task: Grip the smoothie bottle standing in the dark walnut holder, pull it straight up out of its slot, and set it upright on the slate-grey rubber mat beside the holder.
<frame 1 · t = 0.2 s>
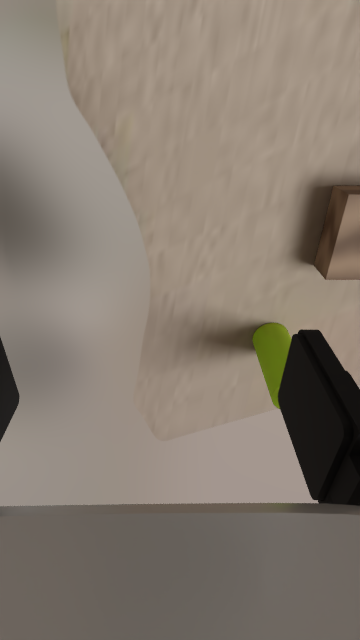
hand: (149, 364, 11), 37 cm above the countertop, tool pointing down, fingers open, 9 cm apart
soap dispenser: (272, 334, 57), on the countertop
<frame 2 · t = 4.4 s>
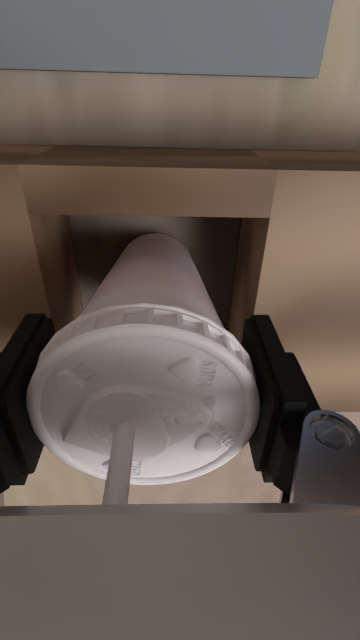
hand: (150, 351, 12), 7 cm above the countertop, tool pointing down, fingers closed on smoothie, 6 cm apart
smoothie: (156, 266, 18), resting in holder, touching gripper
holder: (156, 268, 17), on the countertop
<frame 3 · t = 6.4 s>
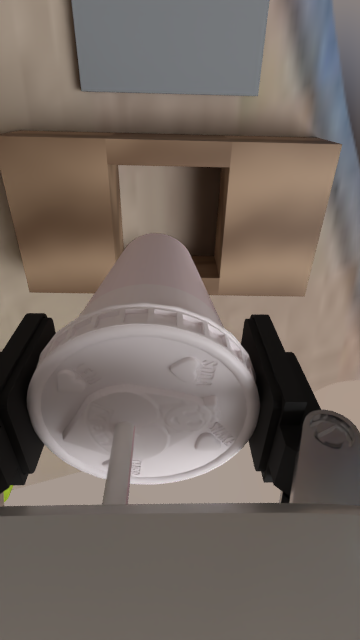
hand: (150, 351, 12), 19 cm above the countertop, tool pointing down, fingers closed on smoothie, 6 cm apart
smoothie: (156, 266, 18), point 13 cm above the countertop, touching gripper
holder: (169, 209, 28), on the countertop
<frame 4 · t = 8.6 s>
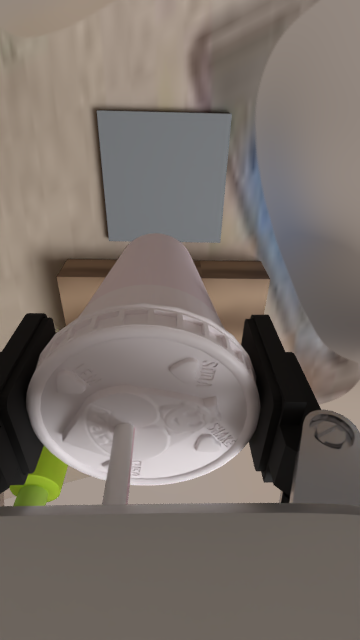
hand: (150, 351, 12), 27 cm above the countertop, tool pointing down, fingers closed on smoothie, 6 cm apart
mat: (164, 181, 35), on the countertop
smoothie: (156, 267, 18), point 20 cm above the countertop, touching gripper
holder: (165, 301, 42), on the countertop
soap dispenser: (65, 403, 52), on the countertop
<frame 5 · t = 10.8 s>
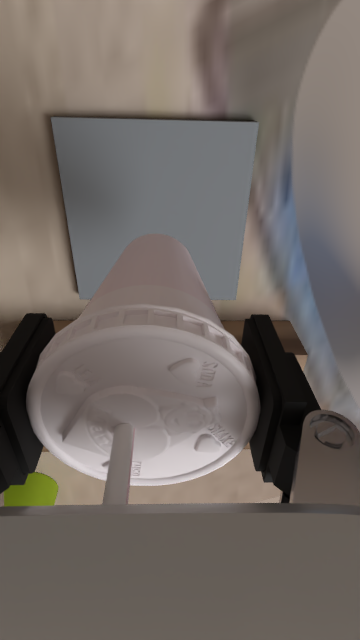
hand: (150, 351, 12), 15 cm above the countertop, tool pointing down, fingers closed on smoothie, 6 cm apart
mat: (157, 218, 24), on the countertop
smoothie: (156, 267, 18), point 8 cm above the countertop, touching gripper
holder: (159, 370, 32), on the countertop
soap dispenser: (35, 482, 41), on the countertop
when the fingers open (8 cm above the countertop, at t = 13.0 s): smoothie stays where it is, resting on mat.
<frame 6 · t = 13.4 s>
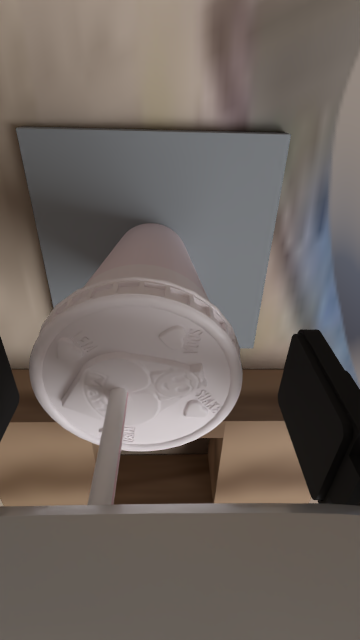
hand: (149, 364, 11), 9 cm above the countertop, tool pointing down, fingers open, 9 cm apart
mat: (157, 253, 19), on the countertop
smoothie: (152, 255, 18), point 1 cm above the countertop, touching mat
holder: (159, 422, 27), on the countertop
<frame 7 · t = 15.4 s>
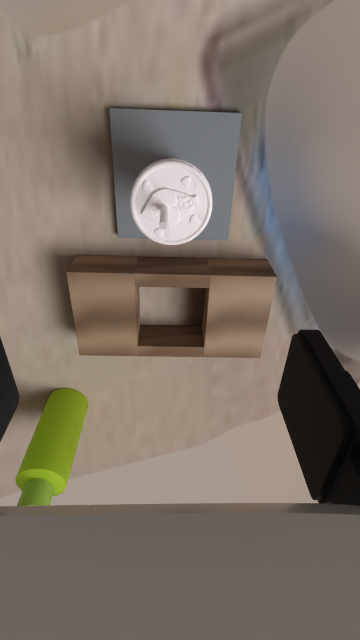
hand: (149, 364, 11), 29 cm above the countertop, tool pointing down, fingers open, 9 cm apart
mat: (174, 179, 35), on the countertop
smoothie: (171, 179, 34), point 1 cm above the countertop, touching mat
holder: (171, 298, 43), on the countertop
soap dispenser: (70, 399, 52), on the countertop
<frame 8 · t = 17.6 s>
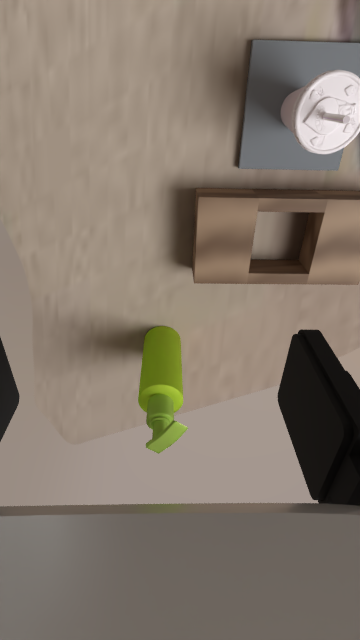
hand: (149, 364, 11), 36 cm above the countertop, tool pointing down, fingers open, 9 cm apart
mat: (297, 110, 39), on the countertop
smoothie: (296, 109, 38), point 1 cm above the countertop, touching mat
holder: (275, 232, 46), on the countertop
soap dispenser: (164, 338, 56), on the countertop
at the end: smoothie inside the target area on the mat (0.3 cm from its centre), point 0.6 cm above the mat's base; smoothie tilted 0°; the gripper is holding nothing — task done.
